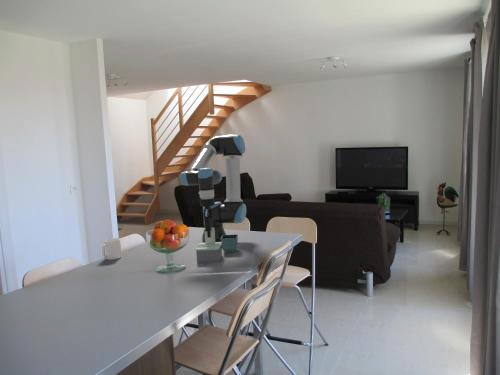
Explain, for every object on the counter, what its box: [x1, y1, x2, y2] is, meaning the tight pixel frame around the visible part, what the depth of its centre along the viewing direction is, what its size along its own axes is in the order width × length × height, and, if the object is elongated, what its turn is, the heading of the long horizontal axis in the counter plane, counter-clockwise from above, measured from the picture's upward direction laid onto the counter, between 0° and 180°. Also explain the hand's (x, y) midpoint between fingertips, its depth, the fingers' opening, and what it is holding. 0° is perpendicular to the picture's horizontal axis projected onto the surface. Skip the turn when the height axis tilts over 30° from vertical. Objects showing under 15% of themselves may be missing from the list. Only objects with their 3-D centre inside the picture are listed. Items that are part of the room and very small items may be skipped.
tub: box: [195, 245, 223, 264], centre depth 209 cm, size 12×11×7 cm
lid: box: [195, 227, 222, 251], centre depth 209 cm, size 13×12×10 cm
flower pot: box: [220, 233, 239, 253], centre depth 223 cm, size 9×9×9 cm
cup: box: [101, 237, 123, 261], centre depth 224 cm, size 8×12×10 cm
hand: (210, 242), depth 214 cm, fingers closed on lid, 2 cm apart
